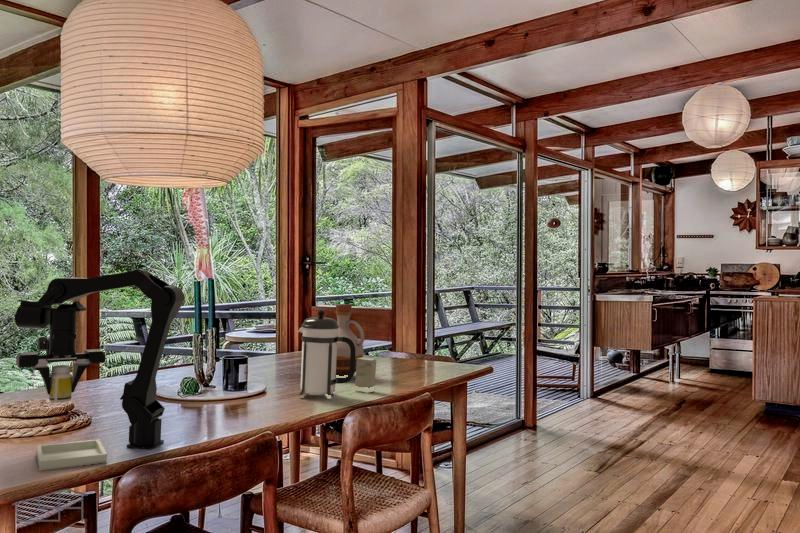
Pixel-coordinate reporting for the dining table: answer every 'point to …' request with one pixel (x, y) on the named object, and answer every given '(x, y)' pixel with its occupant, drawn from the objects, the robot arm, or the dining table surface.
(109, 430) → the dining table surface
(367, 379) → the skincare box
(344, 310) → the jug
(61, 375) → the supplement bottle
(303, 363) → the coffee press
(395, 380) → the dining table surface
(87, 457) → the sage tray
